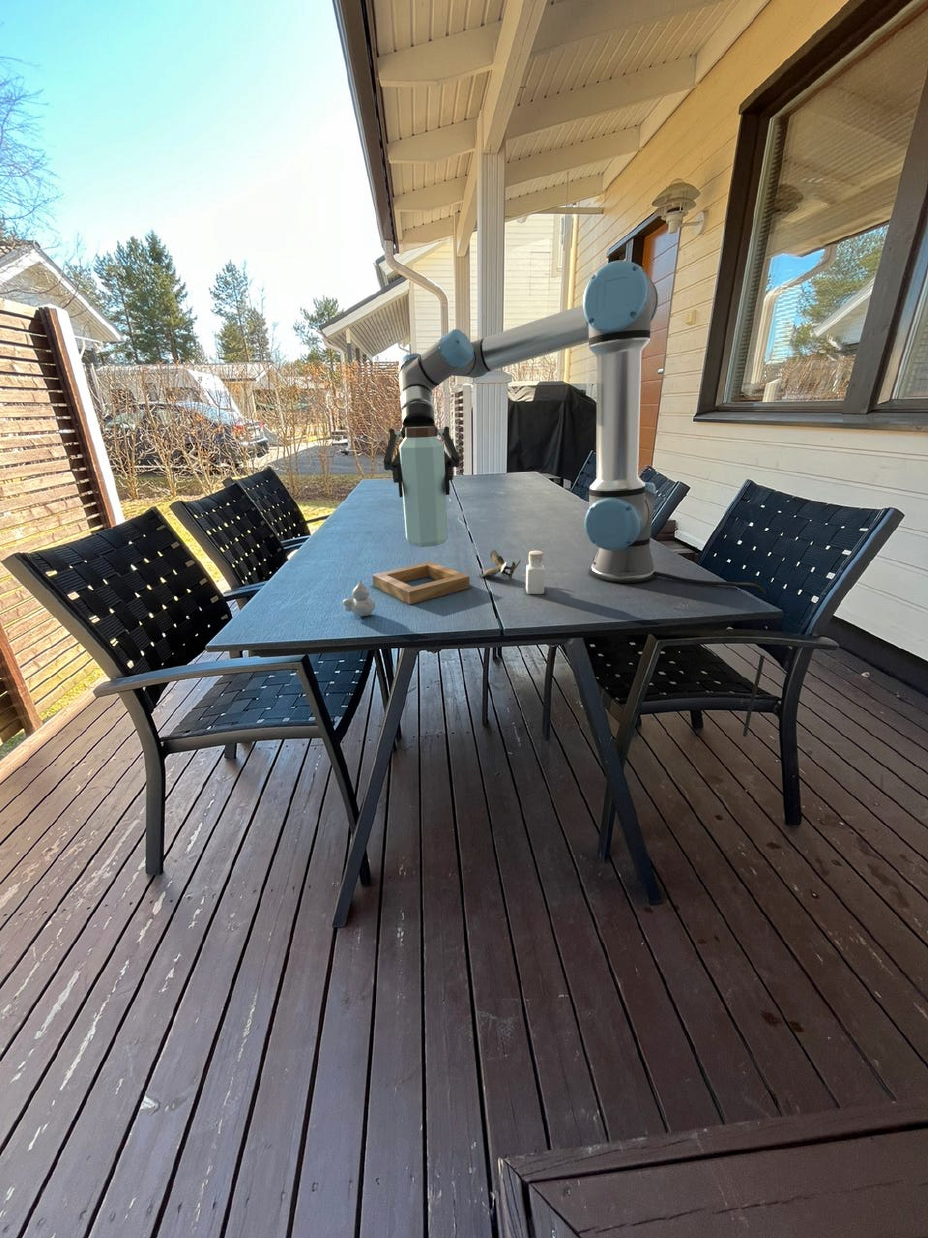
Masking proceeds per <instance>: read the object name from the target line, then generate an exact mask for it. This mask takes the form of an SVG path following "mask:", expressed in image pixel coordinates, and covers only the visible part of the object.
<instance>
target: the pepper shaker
mask: <svg viewBox="0 0 928 1238" xmlns="http://www.w3.org/2000/svg"><path fill="white" fill-rule="evenodd" d="M543 561H544V552H543V551H541V550H530V551H529V552H528V564H527V565H526V566H525V590H526V594H528V595H543V594H544V593H545V580H546V579H545V577H546V569H545V565H544V564H543Z"/></svg>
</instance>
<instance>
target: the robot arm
mask: <svg viewBox="0 0 928 1238" xmlns="http://www.w3.org/2000/svg"><path fill="white" fill-rule="evenodd" d="M658 306H659V293H658V289H657V287H656V285H655V283H654V281H653V280H651V278H650V277H649V276H648V274H647V272H646V271H645V270H644V268H643V267H642V266H640V265H639V264H637V263H635V262H631V261H629V260H621V259H620V260H614V261H610V262H608V263H606V264H604V265H603V266H600V268H598V270H596V272H595V273H594V274H593V275H592V276H591V278H590V279H589V281H588V282H587V284H586V287H585V289H584V292H583V296H582V304H581V305H578V306H575V307H572V308H569V309H566V310H563V311H560V312H557V313H554V314H551V315H548V316H545V317H542V318H539V319H536V320H534V321H530V322H527V323H525V324H524V323H523V324H522V325H518V326H515V327H512V328H510V329H506V330H504V331H501V332H497V333H495V334H492V335H489V336H486V337H484V338H480V339H477V340H474V341H471V340H470V339H469V338H468V336H467V334H466V333H464V332H463V331H462V330H460V328H459V329H458V328H454V329H452V330H450V331H449V332H447V333H446V334H443V335H442V336H441V337H440V338H439V339H438V340H437V341H436V342H434V344H433V345H431V346H430V347H429V348H427V350H425V351H424V352H423V353H422V354H420V353H416V352H412V353H410V354H406V355H405V356H403V357H402V358H401V359H400V361H399V364H398V374H397V378H398V385H399V395H400V398H399V399H400V408H401V409H400V411H401V425H402V427H401V428H400V430H395V428H389V430H388V435H389V439H388V443H387V446H386V450H385V453H384V457H383V469H384V470H385V471H389V470H390V471H391V472H392V481H393V483H394V484H398V495H399V498H403V489H402V475H401V464H400V450H398V452H397V453H396V455H395V456H394V454H395V450H396V447H397V443H398V441H399V440H400V438H402V440H404V438H405V428H407V427H435V436H436V437H437V438H438V436H439V438H440V439H441V440H442V441H443V445H444V447H445V448H446V451H445V450H444V460H445V486H446V496H450V495H451V493H450V492H451V483H450V481H453V480H454V468H459V467H460V463H461V457H460V455H459V453H458V450H457V448H456V445H455V444H454V442H453V439H452V437H451V435H450V427H449V426H444V427H443V428H438V427H437V426H436V422H435V421H436V420H435V419H436V418H435V412H434V401H433V390H434V389H435V388H436V387H438V386H440V385H441V384H442V383H444V382H445V381H446V380H447V379H449V378H451V377H466V378H471V379H476V378H480V377H483V376H485V375H486V374H488V373H490V372H492V371H495V370H499V369H502V368H505V367H509V366H513V365H517V364H519V363H523V362H526V361H529V360H533V359H536V358H540V357H543V356H547V355H550V354H553V353H557V352H560V351H563V350H567V349H571V348H574V347H578V346H581V345H584V344H588V349H589V350H590V351H591V352H592V353H593V354H594V355H595V357H596V478H595V480H594V481H593V482H592V483H591V484H590V486H588V487H589V489H588V491H589V492H588V493H589V494H588V495H589V496H588V497H589V499H588V501H589V503H588V507H589V508H588V509H587V510H586V514H585V517H584V524H583V525H584V526H583V527H584V532H585V534H586V536H587V538H588V539H589V541H590V542H591V543H592V544H593V545H594V546H596V547H598V549H597V551H596V553H595V556H594V557H593V559H592V564H591V571H590V573H591V575H592V576H594V577H595V578H597V579H600V580H603V581H606V582H611V583H618V584H619V583H620V584H621V583H622V584H636V583H643V582H648V581H650V580H652V579H653V578H654V577H655V576H658V577H662V578H666V579H670V580H673V581H678V582H683V583H688V584H695V585H706V586H725V587H734V588H735V587H736V588H737V587H739V588H741V587H743V588H744V587H745V588H753V589H755V590H757V591H758V592H759V593H760V594H763V595H767V592H766V591H765V589H764V588H763V587H762V586H760V585H758V584H756V583H753V582H732V581H718V580H717V581H716V580H715V581H713V580H703V579H702V580H701V579H693V578H686V577H681V576H678V575H677V576H676V575H673V574H669V573H664V572H660V571H656V570H655V569H656V568H655V565H654V560H653V555H652V551H651V545H650V544H651V535H652V526H653V518H654V517H653V516H654V507H655V499H656V497H657V494H656V485H655V484H654V483H653V482H645V481H643V480H642V479H641V477H640V476H639V457H640V456H639V454H640V453H639V452H640V424H641V423H640V421H641V419H640V417H641V387H642V386H641V384H642V380H641V379H642V352H643V350H644V348H645V347H646V346H647V345H648V344H649V343H650V341H651V326H652V324H651V323H652V322H653V320H654V318H655V316H656V314H657V311H658ZM393 457H394V459H393ZM764 662H765V655H759V661H758V665H757V671H756V675H755V680H754V684H753V687H752V692H751V695H750V700H749V704H748V707H747V713H746V717H745V723H744V727H743V733H742V736H743V737H744V738H747V736H748V731H749V726H750V722H751V717H752V713H753V708H754V705H755V701H756V696H757V692H758V687H759V684H760V680H761V675H762V671H763V666H764Z"/></svg>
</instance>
